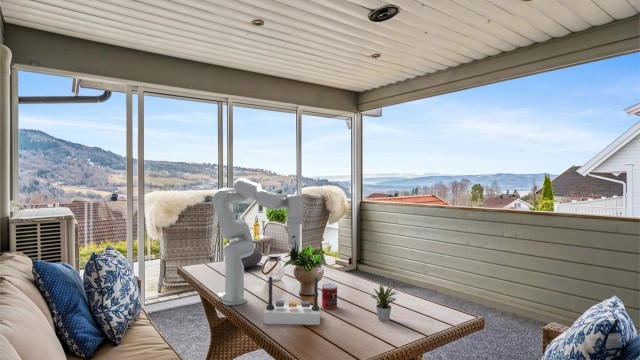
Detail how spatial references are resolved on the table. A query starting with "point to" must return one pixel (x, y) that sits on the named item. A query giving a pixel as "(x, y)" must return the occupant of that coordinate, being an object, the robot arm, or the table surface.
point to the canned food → (329, 296)
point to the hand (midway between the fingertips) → (294, 258)
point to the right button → (305, 303)
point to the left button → (279, 303)
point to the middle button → (292, 303)
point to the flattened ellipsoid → (252, 259)
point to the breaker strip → (292, 315)
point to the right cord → (315, 295)
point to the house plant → (384, 303)
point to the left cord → (270, 296)
